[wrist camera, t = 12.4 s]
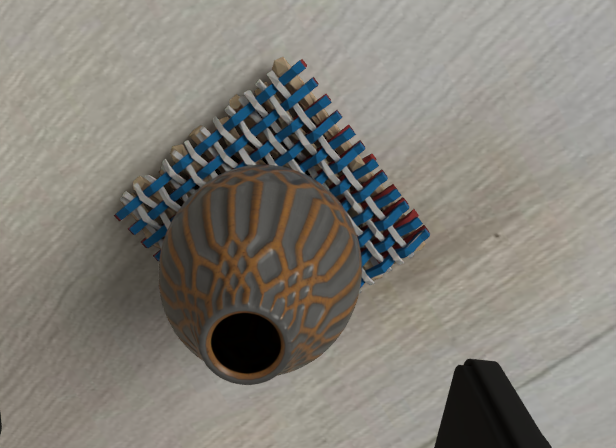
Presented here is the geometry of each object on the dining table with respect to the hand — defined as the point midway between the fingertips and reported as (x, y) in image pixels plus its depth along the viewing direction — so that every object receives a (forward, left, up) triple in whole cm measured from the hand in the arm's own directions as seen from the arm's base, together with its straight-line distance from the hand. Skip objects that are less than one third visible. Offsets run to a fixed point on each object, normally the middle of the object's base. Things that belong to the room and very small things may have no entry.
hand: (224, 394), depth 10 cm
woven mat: (0, 0, -14) cm, 14 cm away
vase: (0, 0, -11) cm, 11 cm away
